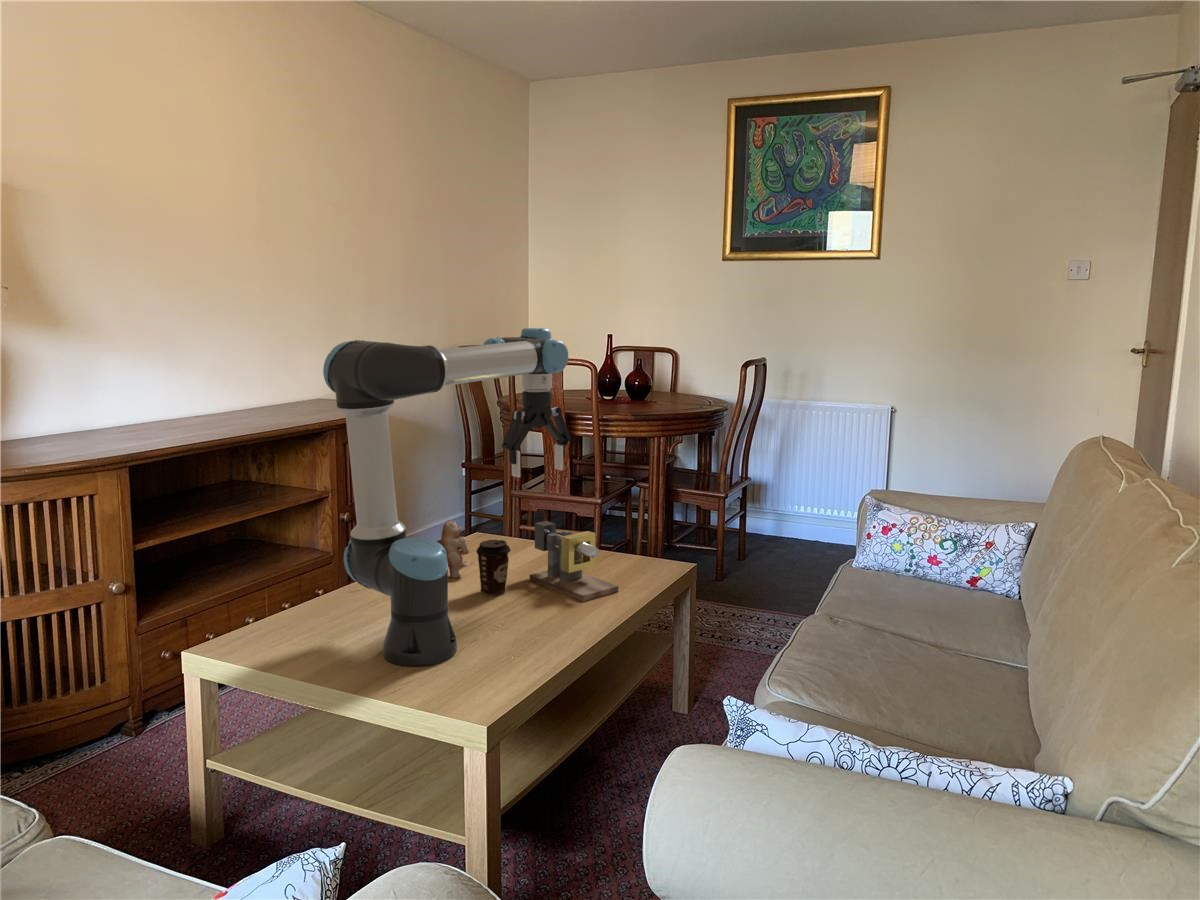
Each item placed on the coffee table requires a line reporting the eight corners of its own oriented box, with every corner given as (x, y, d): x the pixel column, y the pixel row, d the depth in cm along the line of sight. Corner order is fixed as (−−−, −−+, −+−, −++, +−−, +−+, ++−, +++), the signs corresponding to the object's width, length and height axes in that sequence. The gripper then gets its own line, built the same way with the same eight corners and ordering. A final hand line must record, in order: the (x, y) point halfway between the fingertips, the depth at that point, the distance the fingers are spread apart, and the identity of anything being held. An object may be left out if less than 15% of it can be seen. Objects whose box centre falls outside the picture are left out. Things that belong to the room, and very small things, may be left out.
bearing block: (583, 601, 210) (583, 551, 208) (529, 580, 226) (529, 533, 224) (618, 591, 218) (619, 542, 216) (564, 571, 234) (564, 526, 232)
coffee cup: (513, 587, 219) (513, 539, 217) (507, 598, 211) (507, 548, 209) (481, 586, 220) (480, 538, 218) (473, 596, 212) (472, 546, 210)
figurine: (467, 579, 226) (467, 524, 224) (439, 578, 226) (438, 524, 224) (471, 572, 232) (471, 519, 230) (444, 571, 232) (443, 518, 230)
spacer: (568, 573, 215) (569, 538, 214) (561, 570, 218) (561, 536, 216) (594, 566, 221) (595, 533, 220) (587, 563, 224) (587, 530, 222)
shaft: (587, 566, 213) (588, 540, 212) (534, 548, 230) (534, 523, 228) (599, 563, 216) (599, 537, 215) (546, 545, 232) (546, 520, 231)
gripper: (504, 394, 200) (505, 481, 204) (584, 388, 217) (584, 468, 220) (486, 392, 206) (488, 477, 210) (566, 385, 222) (566, 464, 226)
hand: (537, 473), depth 215 cm, fingers open, 13 cm apart
